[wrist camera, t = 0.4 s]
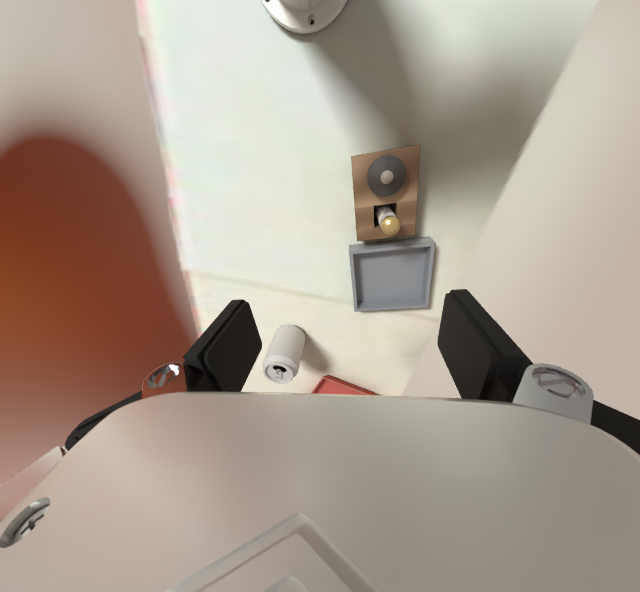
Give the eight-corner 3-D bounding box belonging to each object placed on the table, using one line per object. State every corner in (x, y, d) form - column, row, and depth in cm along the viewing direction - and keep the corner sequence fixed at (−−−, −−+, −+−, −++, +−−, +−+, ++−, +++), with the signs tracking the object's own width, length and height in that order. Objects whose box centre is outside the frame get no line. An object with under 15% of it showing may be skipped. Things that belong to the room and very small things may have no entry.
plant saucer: (323, 367, 62) (322, 377, 59) (382, 390, 64) (383, 401, 61) (300, 401, 71) (298, 411, 68) (351, 420, 74) (351, 430, 71)
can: (309, 327, 54) (300, 368, 44) (302, 348, 58) (292, 390, 48) (279, 318, 54) (262, 357, 44) (273, 340, 58) (257, 380, 48)
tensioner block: (351, 156, 35) (351, 157, 30) (413, 145, 33) (424, 144, 28) (356, 233, 41) (357, 245, 36) (409, 227, 39) (418, 239, 34)
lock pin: (374, 203, 38) (381, 218, 30) (389, 201, 38) (400, 216, 29) (375, 218, 39) (381, 236, 31) (389, 216, 39) (400, 234, 30)
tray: (349, 245, 42) (349, 251, 40) (429, 236, 40) (435, 242, 37) (354, 303, 49) (354, 311, 46) (423, 299, 47) (428, 307, 44)
